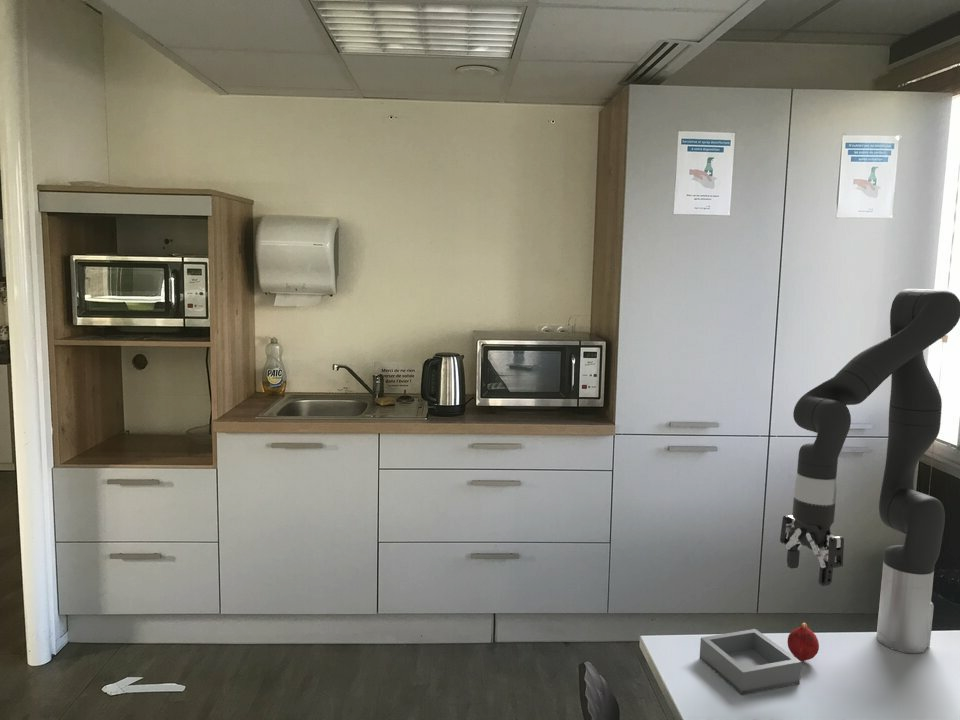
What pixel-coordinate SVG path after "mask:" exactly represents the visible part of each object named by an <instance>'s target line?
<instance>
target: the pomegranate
mask: <svg viewBox="0 0 960 720" xmlns="http://www.w3.org/2000/svg"><path fill="white" fill-rule="evenodd" d="M787 647H788V650H789V652H790V654H791V655H793V656H794V657H795V658H797V659H798V660H800V661H801V662H806V661H809V660H811V659H813V658H815V656H817V654H818V653H819V650H820V645H819V640H818V637H817V635H816V634H815V633H814V632H813V631H812V630H811V629H810V628H809V627H808V624H807V623H806V622H803V623H801V625H800V626H799V627H796V628H795V629H793V630H792V631H791V632H790V633H789V634H788V636H787Z"/></svg>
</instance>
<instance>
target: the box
mask: <svg viewBox="0 0 960 720" xmlns="http://www.w3.org/2000/svg"><path fill="white" fill-rule="evenodd" d="M699 646H700V647H699V659H700V660H701V661H702V662H703V663H704V664H705V665H706V664H707V666H708V668H710V669H711V670H712V671H713V670H714V671H715V674H716V675H718V676H719V677H720V678H721V679H722V680H723V681H725V682H726V683H727V684H728V685H729V686H730V687H732V688H733V690H735V691H736V692H737V693H738V694H740V695H741V696H744V695H749V694H753V693H754V694H755V693H760V692H764V691H770V690H774V689H780V688H784V687H785V688H786V687H790V686H796V685H800V684H801V669H802V661H800V660H798V659H797V658H796V657H795V656H794V655H793V654H792V653H791V652H789V651H787V650H785V649H784V648H783V647H782V646H780V645H779V644H778V643H776V642H774V641H773V640H772V639H770V638H769V637H768V636H766V635H765V634H763V632H761V631H759V630H758V629H756V628H752V629H746V630H739V631H734V632H733V631H732V632H727V633H720V634H716V635H709V636H703V637H700V644H699ZM714 671H713V672H714Z"/></svg>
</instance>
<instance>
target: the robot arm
mask: <svg viewBox="0 0 960 720" xmlns="http://www.w3.org/2000/svg"><path fill="white" fill-rule="evenodd" d="M889 314H890V315H889V327H890V328H889V329H890V337H888V338H887V339H884V340H883V341H880V342H878V343H876V344H874V345H872V346H870V347H868V348H866V349H865V350H863V351H861V352H860V353H858V354H857V355H855V356H854V357H853V358H852V359H850V360H849V361H848V362H847V363H846V364H845V365H844V366H843V367H842V368H841V369H840V370H839V371H838V372H837V373H836V374H835V375H834V376H833V377H831V378H829V379H828V380H826V381H824V382H822V383H820V384H819V385H817V386H815V387H814V388H812V389H810V390H809V391H807V392H806V393H804V394H803V395H802V396H801V397H800V398H799V399H798V401H797V402H796V403H795V405H794V408H793V412H792V413H793V416H792V417H793V420H794V422H795V424H796V425H797V426H798V427H800V428H801V429H803V430H805V431H809V432H812V433H813V432H814V433H816V434H817V435H816V437H815V440H814V443H813V442H812V443H811V442H810V443H805V444H803V445H801V446H800V448H799V449H798V450H799V451H798V459H797V468H796V469H797V470H796V477H795V481H794V488H793V489H794V491H793V501H792V514H788V515H783V516H782V521H781V529H780V536H779V541H780V543H781V544H784V545H785V547H786V549H787V555H786V563H787V565H786V566H787V568H790V569H792V570H793V569H797V568H798V567H799V564H800V554H801V553H800V552H801V551H800V550H801V549H800V548H801V547H802V546H805V547H807V548H808V549H810V550H812V552H813V554H814V556H815V557H816V558H817V559H818V562H819V564H820V567H819V573H818V584H819V585H820V586H821V587H825V586H826V587H827V586H830V585H831V583H832V581H833V572H834V571H833V570H834V569H837V568H842V567H843V566H844V549H845V548H844V547H845V546H844V544H845V543H844V542H845V540H844V537H843V536H842V535H839V536H835V535H833V534H832V532H831V526H832V525H833V524H834V523H835V513H836V502H837V494H838V493H837V492H838V490H837V489H838V485H837V475H838V474H837V473H838V464H839V463H838V462H839V460H838V459H839V457H840V453H841V451H842V450H843V447H844V444H845V441H846V439H847V436H848V434H849V431H850V428H851V424H852V419H851V418H852V417H851V412H850V409H849V408H848V406H854V405H859V404H861V403H863V402H864V401H866V399H867V398H868V397H870V395H872V393H874V392H875V390H877V389H878V388H879V387H880V385H882V384H883V382H884V381H885V380H887V379H888V378H889V377H890V376H891V377H890V378H891V379H890V381H891V382H890V385H891V386H890V396H889V407H888V408H889V409H888V433H887V434H888V435H887V447H886V457H885V464H884V472H883V478H882V481H881V482H882V483H881V489H880V496H879V501H878V512H879V518H880V520H881V522H882V523H883V524H884V525H885V526H887V527H889V528H890V529H892V530H896V531H897V532H900V533H901V534H902V533H903V534H905V539H904V543H903V544H898V545H895V544H893V545H890V546H887V547H886V548H885V549H884V552H883V560H882V561H883V563H882V571H881V572H882V573H881V574H882V575H881V585H880V597H879V605H878V607H879V608H878V617H877V625H876V626H877V629H876V640H877V641H878V642H879V643H881V644H882V645H883V646H885V647H887V648H890V649H892V650H893V651H898V652H902V653H907V654H921V653H925V651H926V650H927V648H928V647H930V646H931V638H932V637H931V636H932V628H933V627H932V626H933V617H934V608H935V607H934V602H932V595H933V586H934V584H933V583H934V575H935V565H936V563H937V561H938V558H939V556H940V553H941V546H942V543H943V542H942V541H943V536H944V529H945V522H946V513H945V508H944V505H943V503H942V501H941V500H939V499H938V498H936V497H934V496H931V495H930V494H926V493H923V492H919V491H917V490H915V489H914V488H915V487H914V486H915V485H914V483H915V482H914V481H915V473H916V469H917V466H918V463H919V462H920V460H921V459H922V457H923V455H924V454H925V453H926V452H927V451H928V450H929V449H930V447H931V446H932V445H933V444H934V442H935V440H936V439H937V437H938V435H939V433H940V430H941V425H942V424H941V423H942V422H941V420H942V407H943V406H942V405H943V403H942V402H943V400H942V396H941V393H940V390H939V388H938V386H937V383H936V382H935V380H934V378H933V375H932V374H931V372H930V370H929V368H928V366H927V365H928V364H927V363H926V359H925V356H924V351H925V350H926V349H927V348H929V347H930V346H932V345H933V344H935V343H937V341H939V340H940V339H942V338H943V337H945V336H946V335H948V334H949V332H951V331H952V330H953V329H954V328H955V327H956V326H957V324H958V323H959V321H960V299H959V298H958V296H957V295H956V294H955V293H953V292H951V291H950V290H949V291H948V290H944V289H937V288H936V289H933V288H931V289H930V288H927V289H926V288H905V289H903V290H901V291H899V292H898V293H897V294H896V295H895V296H894V299H893V300H892V303H891V306H890V313H889ZM823 548H824V550H821V549H823Z"/></svg>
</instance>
